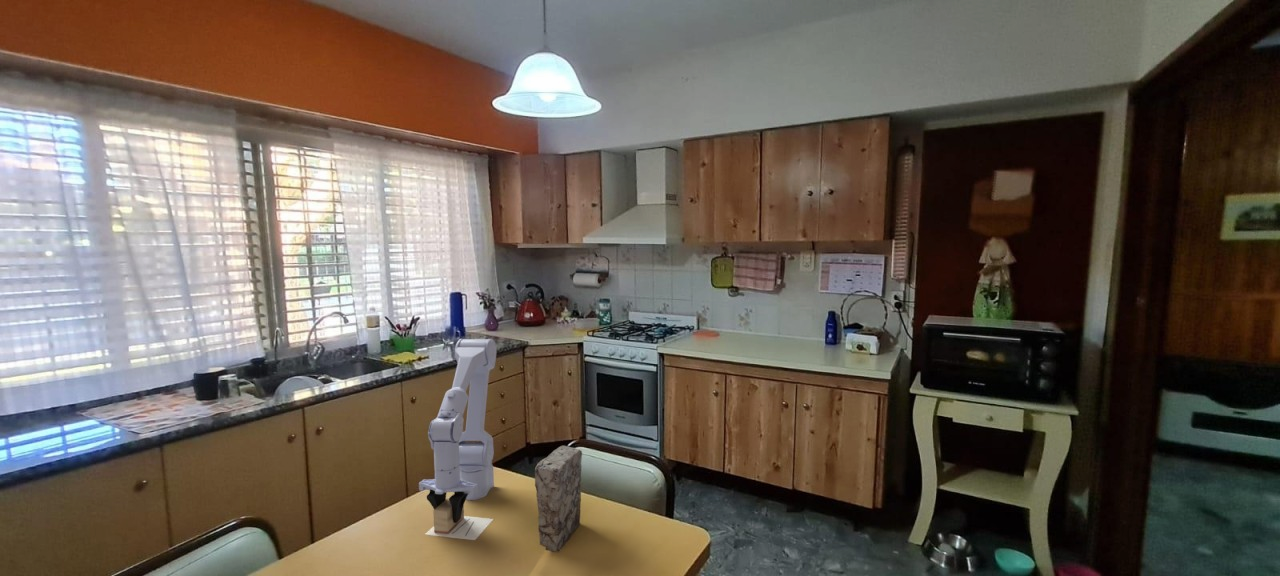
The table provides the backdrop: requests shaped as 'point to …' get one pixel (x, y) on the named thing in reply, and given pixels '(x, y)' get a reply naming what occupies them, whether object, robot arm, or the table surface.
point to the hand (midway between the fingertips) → (449, 519)
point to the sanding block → (445, 518)
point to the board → (466, 528)
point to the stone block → (558, 496)
